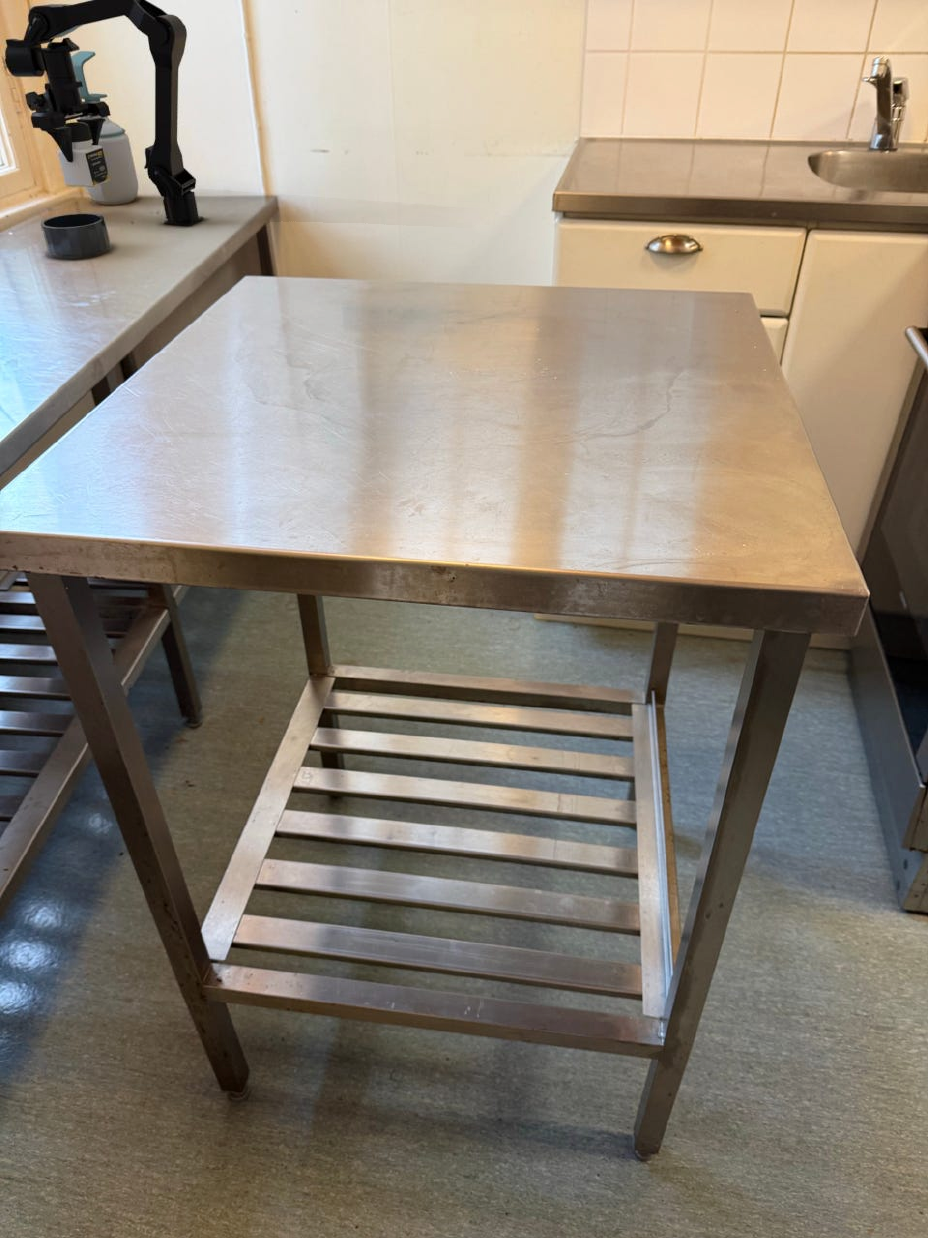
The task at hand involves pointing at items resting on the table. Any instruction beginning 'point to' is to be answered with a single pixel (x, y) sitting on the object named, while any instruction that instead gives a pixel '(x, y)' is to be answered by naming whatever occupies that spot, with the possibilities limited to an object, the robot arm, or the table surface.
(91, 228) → the dark grey round bowl
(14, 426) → the table surface
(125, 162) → the soap bottle
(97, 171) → the medicine bottle
